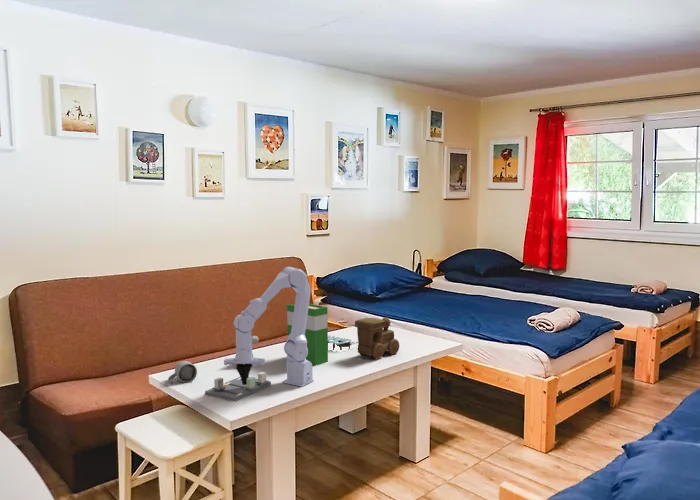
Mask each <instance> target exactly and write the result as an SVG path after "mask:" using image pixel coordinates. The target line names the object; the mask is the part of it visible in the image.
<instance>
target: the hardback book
mask: <svg viewBox="0 0 700 500" xmlns="http://www.w3.org/2000/svg"><path fill="white" fill-rule="evenodd" d="M294 307H295V304H290V303H287V304H286V314H287V315H286V316H287V317H286V319H287V322H286V323H287V324H286V325H287V337H288V336H289V335H290V333H291V329H292V321H293V314H294ZM328 326H329V325H328V307H327V306H325V305H324V306H323V305H318V304H313V303H309V308H308V315H307V322H306V330H305V337H306V340H307V348H308V355H307V357H306V360H307V361H310V362H311V363H312V366H314V367H317V366H319V365H323V364H326V362H327V363H328V362H329V350H328V338H329V337H328V336H329V335H328V333H329V332H328V329H329V328H328ZM316 365H317V366H316Z"/></svg>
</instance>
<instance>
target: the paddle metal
mask: <svg viewBox="0 0 700 500" xmlns="http://www.w3.org/2000/svg"><path fill="white" fill-rule="evenodd" d="M213 382H214V387H212V388H211V389H213V390H217V391H221V390H223V389H226V387H224V386H223V383H224V378H223V377H217V378H215V379H214V381H213Z"/></svg>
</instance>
